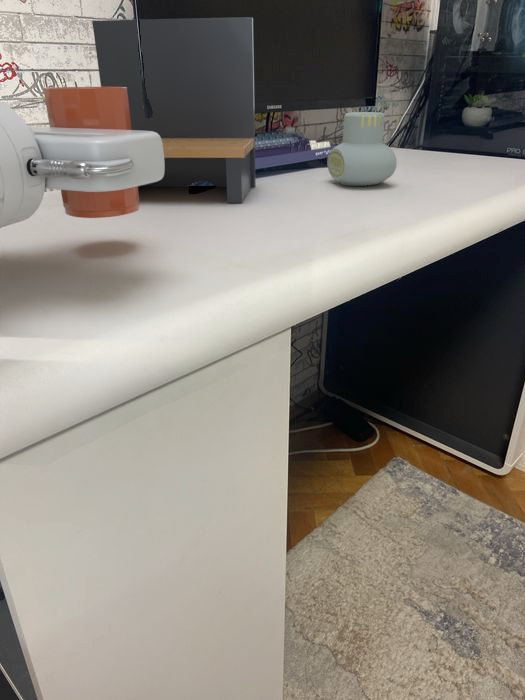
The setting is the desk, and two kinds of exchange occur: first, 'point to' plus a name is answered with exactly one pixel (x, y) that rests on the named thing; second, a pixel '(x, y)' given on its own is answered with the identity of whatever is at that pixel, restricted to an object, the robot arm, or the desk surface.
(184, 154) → the shelf rack
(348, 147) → the air freshener
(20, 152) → the robot arm
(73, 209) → the cup
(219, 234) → the desk surface
